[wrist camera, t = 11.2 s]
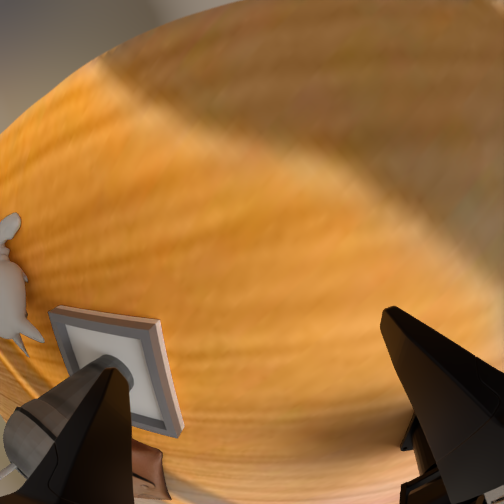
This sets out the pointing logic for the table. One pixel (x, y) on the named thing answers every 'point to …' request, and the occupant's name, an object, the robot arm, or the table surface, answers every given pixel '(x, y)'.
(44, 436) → the beverage cup
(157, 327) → the tray
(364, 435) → the table surface
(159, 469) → the sunglasses case
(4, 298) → the toy creature
